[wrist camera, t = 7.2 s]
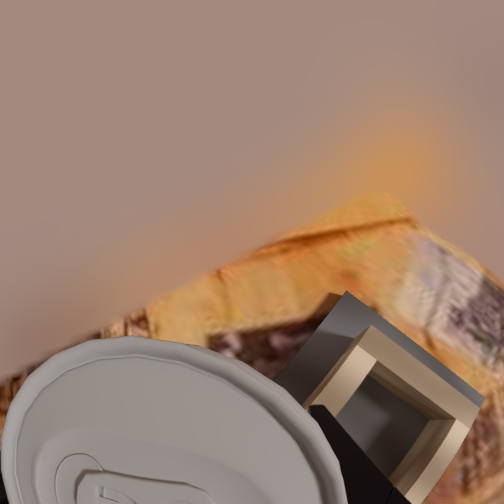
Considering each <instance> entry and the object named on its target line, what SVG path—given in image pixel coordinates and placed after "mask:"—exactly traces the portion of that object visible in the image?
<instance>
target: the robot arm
mask: <svg viewBox="0 0 504 504" xmlns="http://www.w3.org/2000/svg"><path fill="white" fill-rule="evenodd" d="M307 413H308V414H309V415H310V416H311V417H312V418H313V419H314V420H315V421H316V422H317V423H318V424H319V426H320V428H321V430H322V432H323V434H324V435H325V437H326V439H327V441H328V443H329V445H330V446H331V448H332V450H333V452H334V454H335V456H336V457H337V459H338V461H339V465H340V470H341V475H342V476H343V481H344V486H345V492H346V497H347V503H348V504H412V503H411V502H410V501H409V500H408V499H407V498H406V497H405V496H404V495H403V494H402V493H401V492H400V491H399V490H398V489H397V488H396V487H393V486H394V485H393V483H392V482H391V481H390V480H389V479H388V478H387V477H386V476H385V475H384V474H383V472H382V471H381V470H380V469H379V468H378V467H377V466H376V465H375V463H374V462H373V461H372V460H371V459H370V458H369V457H368V456H367V454H366V453H365V452H364V451H363V450H362V449H361V448H360V446H359V445H358V444H357V443H356V442H355V441H354V439H353V438H352V437H351V436H350V435H349V434H348V432H347V431H346V430H345V429H344V428H343V427H342V425H341V424H340V423H339V422H338V421H337V420H336V418H335V417H334V416H333V415H332V414H331V412H330V411H329V410H328V409H327V408H326V406H325V405H323V404H315V405H309V406H308V409H307ZM0 504H9V501H8V497H7V494H6V490H5V486H4V482H3V477H2V472H1V451H0Z"/></svg>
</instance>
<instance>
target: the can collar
mask: <svg viewBox="0 0 504 504" xmlns="http://www.w3.org/2000/svg"><path fill="white" fill-rule="evenodd" d="M273 382H275V383H276V384H278V385H279V386H281V387H283V388H284V389H285V390H286V391H287V392H288V393H289V394H290V395H291V396H292V397H293V398H294V399H295V400H296V401H297V402H298V403H299V404H300V405H301V406H302V407H303V408H304V409H305V411H306V412H307V409H308V406H309V405H315V404H323V405H325V406H326V408H327V409H328V410H329V411H330V412H331V414H332V415H333V416H334V417H335V418H336V420H337V421H338V422H339V423H340V424H341V425H342V427H343V428H344V429H345V430H346V431H347V432H348V434H349V435H350V436H351V437H352V438H353V439H354V441H355V442H356V443H357V444H358V445H359V446H360V448H361V449H362V450H363V451H364V452H365V453H366V454H367V456H368V457H369V458H370V459H371V460H372V461H373V462H374V463H375V465H376V466H377V467H378V468H379V469H380V470H381V471H382V472H383V474H384V475H385V476H386V477H387V478H388V479H389V480H390V481H391V482H392V483H393V485H394V486H393V487H396V488H397V489H398V490H399V491H400V492H401V493H402V494H403V495H404V496H405V497H406V498H407V499H408V500H409V501H410V502H411V503H412V504H421V503H422V501H423V500H424V499H425V497H426V496H427V495H428V493H429V492H430V491H431V489H432V488H433V487H434V485H435V484H436V483H437V481H438V480H439V478H440V477H441V475H442V474H443V473H444V471H445V470H446V468H447V467H448V465H449V463H450V462H451V460H452V459H453V457H454V456H455V454H456V452H457V451H458V449H459V447H460V446H461V444H462V442H463V440H464V439H465V437H466V435H467V433H468V431H469V430H470V428H471V426H472V424H473V422H474V420H475V418H476V416H477V414H478V412H479V410H480V406H481V404H482V402H483V400H484V398H485V397H483V396H482V395H481V394H480V393H478V392H477V391H476V390H475V389H474V388H472V387H471V386H470V385H469V384H467V383H466V382H465V381H464V380H462V379H461V378H460V377H459V376H457V375H456V374H455V373H453V372H452V371H451V370H450V369H448V368H447V367H446V366H445V365H443V364H442V363H441V362H440V361H438V360H437V359H436V358H434V357H433V356H432V355H431V354H429V353H428V352H427V351H425V350H424V349H423V348H422V347H420V346H419V345H418V344H416V343H415V342H414V341H413V340H411V339H410V338H409V337H407V336H406V335H405V334H403V333H402V332H401V331H399V330H398V329H397V328H396V327H394V326H393V325H392V324H390V323H389V322H388V321H386V320H385V319H384V318H382V317H381V316H380V315H378V314H377V313H376V312H374V311H373V310H372V309H370V308H369V307H368V306H366V305H365V304H364V303H362V302H361V301H360V300H358V299H357V298H356V297H354V296H353V295H352V294H350V293H349V292H348V291H346V292H345V293H344V294H343V296H342V297H341V298H340V300H339V301H338V302H337V304H336V305H335V306H334V308H333V309H332V310H331V311H330V313H329V314H328V315H327V317H326V318H325V319H324V320H323V322H322V323H321V324H320V325H319V327H318V328H317V329H316V330H315V332H314V333H313V334H312V335H311V337H310V338H309V339H308V340H307V342H306V343H305V344H304V345H303V346H302V348H301V349H300V350H299V351H298V352H297V354H296V355H295V356H294V357H293V358H292V360H291V361H290V362H289V363H288V364H287V365H286V367H285V368H284V369H283V370H282V371H281V372H280V373H279V375H278V376H277V377H276V378H275V379H274V380H273Z"/></svg>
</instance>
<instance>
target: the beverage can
mask: <svg viewBox="0 0 504 504" xmlns="http://www.w3.org/2000/svg"><path fill="white" fill-rule="evenodd" d="M1 472H2V477H3V482H4V486H5V490H6V494H7V497H8V501H9V504H348V503H347V497H346V492H345V486H344V481H343V476H342V475H341V470H340V465H339V461H338V459H337V457H336V456H335V454H334V452H333V450H332V448H331V446H330V445H329V443H328V441H327V439H326V437H325V435H324V434H323V432H322V430H321V428H320V426H319V424H318V423H317V422H316V421H315V420H314V419H313V418H312V417H311V416H310V415H309V414H308V413H307V412H306V411H305V409H304V408H303V407H302V406H301V405H300V404H299V403H298V402H297V401H296V400H295V399H294V398H293V397H292V396H291V395H290V394H289V393H288V392H287V391H286V390H285V389H284V388H283V387H281V386H279V385H278V384H276V383H275V382H273V381H272V380H270V379H268V378H267V377H265V376H264V375H262V374H261V373H259V372H258V371H256V370H255V369H253V368H252V367H250V366H249V365H247V364H246V363H244V362H242V361H239V360H236V359H233V358H231V357H228V356H225V355H222V354H220V353H217V352H214V351H212V350H209V349H206V348H204V347H201V346H199V345H191V344H183V343H179V342H171V341H164V340H158V339H151V338H145V337H139V336H133V335H132V336H123V337H114V338H104V339H93V340H88V341H86V342H83V343H81V344H78V345H76V346H73V347H71V348H68V349H66V350H63V351H61V352H58V353H56V354H54V355H53V356H51V357H50V358H49V359H48V360H47V361H45V362H44V363H43V364H42V365H40V366H39V367H38V368H37V369H36V370H35V371H33V372H32V373H31V374H30V375H29V376H28V377H27V378H26V380H25V381H24V383H23V384H22V386H21V387H20V389H19V390H18V392H17V394H16V395H15V397H14V398H13V400H12V402H11V403H10V406H9V409H8V412H7V416H6V419H5V423H4V427H3V431H2V435H1Z"/></svg>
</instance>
